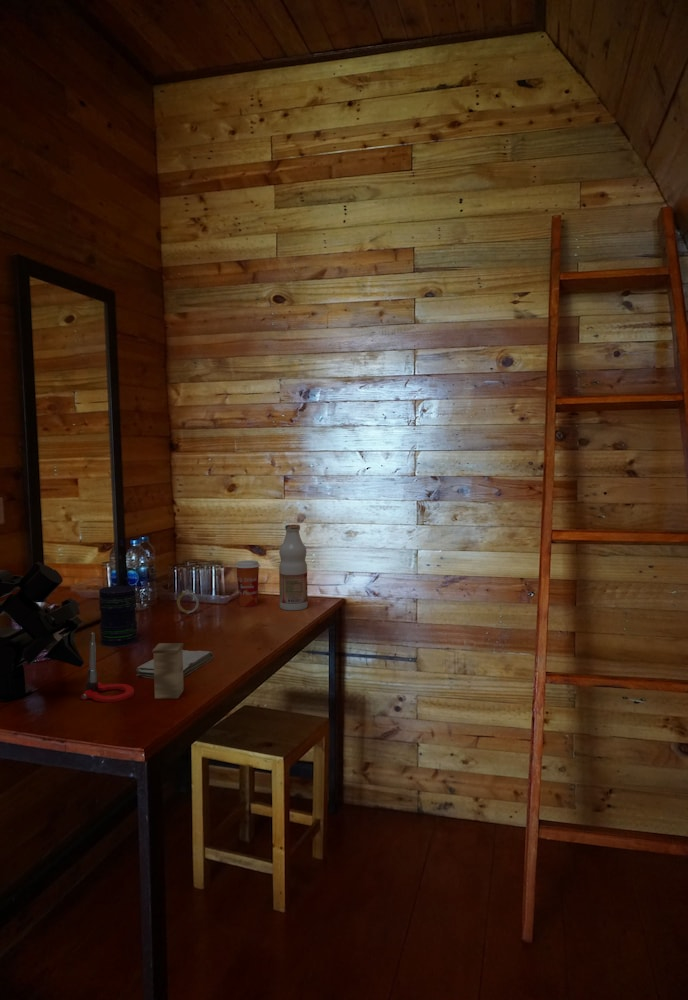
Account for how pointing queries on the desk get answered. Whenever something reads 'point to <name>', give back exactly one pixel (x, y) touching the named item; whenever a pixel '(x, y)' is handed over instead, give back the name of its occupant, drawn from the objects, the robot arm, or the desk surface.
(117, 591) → the storage jar
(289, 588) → the fruit juice
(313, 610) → the desk surface
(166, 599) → the desk surface
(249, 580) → the coffee cup
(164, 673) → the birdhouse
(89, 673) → the tow hook
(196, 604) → the ring
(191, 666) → the washcloth
